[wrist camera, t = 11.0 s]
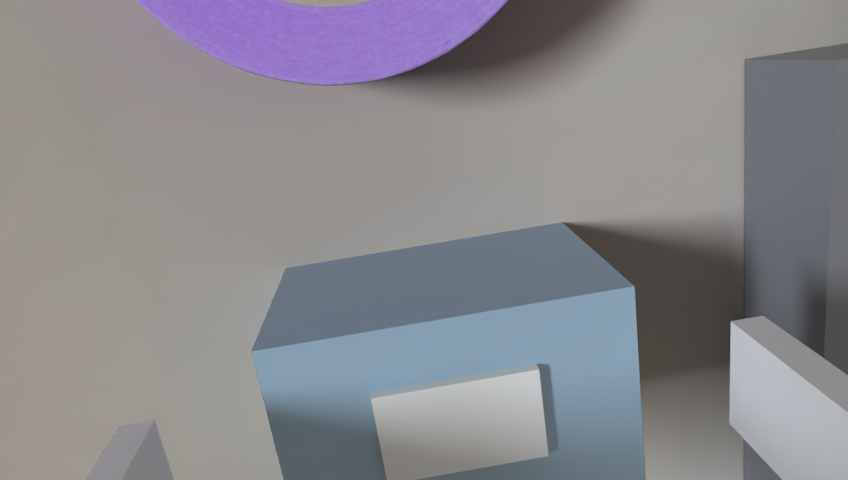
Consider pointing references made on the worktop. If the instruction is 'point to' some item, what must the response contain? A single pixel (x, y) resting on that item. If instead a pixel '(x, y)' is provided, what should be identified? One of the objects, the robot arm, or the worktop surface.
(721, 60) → the worktop surface
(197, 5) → the masking tape
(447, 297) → the block
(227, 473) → the worktop surface
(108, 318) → the worktop surface
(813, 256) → the power strip
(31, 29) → the worktop surface
